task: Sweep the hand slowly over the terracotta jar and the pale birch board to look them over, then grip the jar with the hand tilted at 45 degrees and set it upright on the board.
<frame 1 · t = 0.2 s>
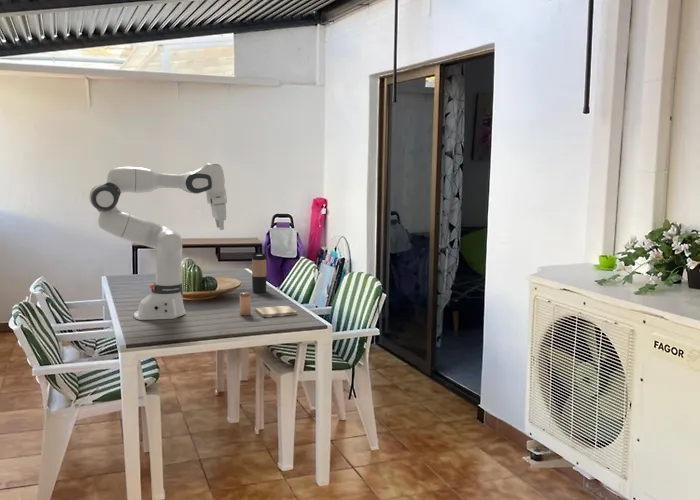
hand: (220, 228, 300), 38 cm above the table, tool pointing down, fingers open, 8 cm apart
birch board: (276, 313, 302), on the table
travel mug: (259, 291, 349), on the table
terracotta jar: (245, 314, 298), on the table
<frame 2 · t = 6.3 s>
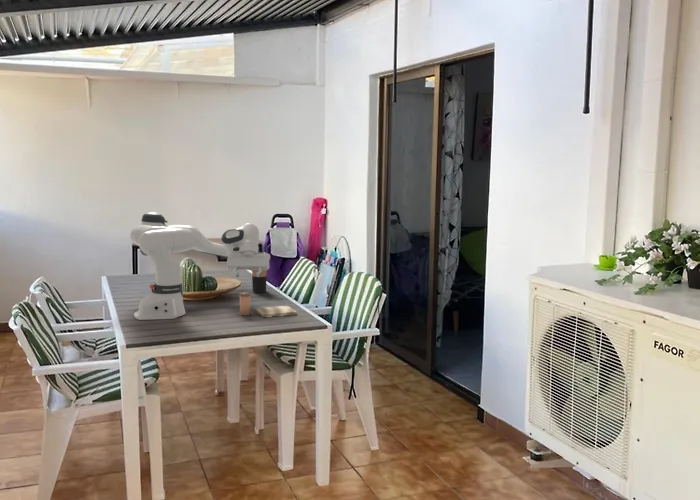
hand: (247, 276, 308), 16 cm above the table, tool tilted 45°, fingers open, 8 cm apart
nothing on the table moved.
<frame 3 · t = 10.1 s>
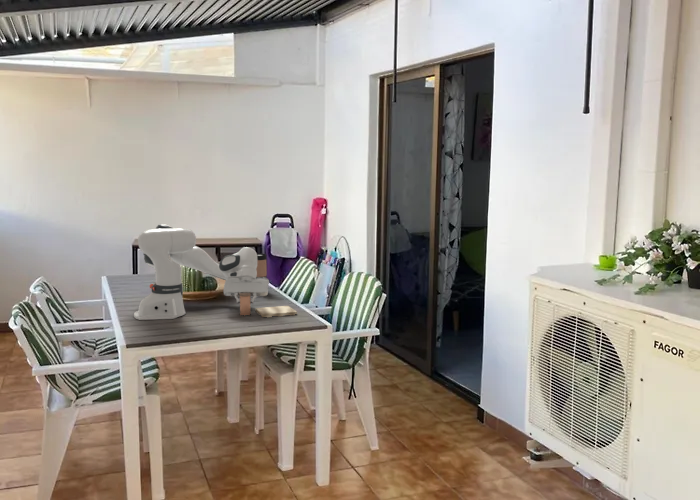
hand: (245, 302, 297), 6 cm above the table, tool tilted 45°, fingers closed on terracotta jar, 5 cm apart
terracotta jar: (245, 314, 298), on the table, touching gripper
everything else where it was.
when the fingers open (9 cm above the table, at t = 15.5 s): terracotta jar drops 1 cm, resting on birch board.
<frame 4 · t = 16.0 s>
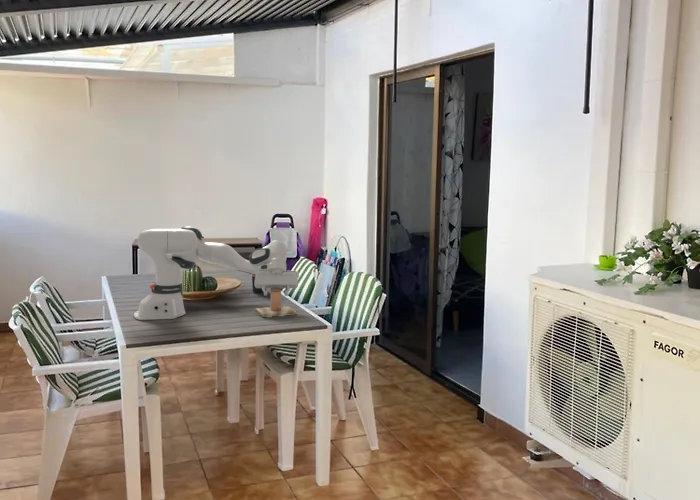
hand: (275, 295, 300), 9 cm above the table, tool tilted 45°, fingers open, 8 cm apart
terracotta jar: (275, 309, 302), point 2 cm above the table, touching birch board
everything else where it was.
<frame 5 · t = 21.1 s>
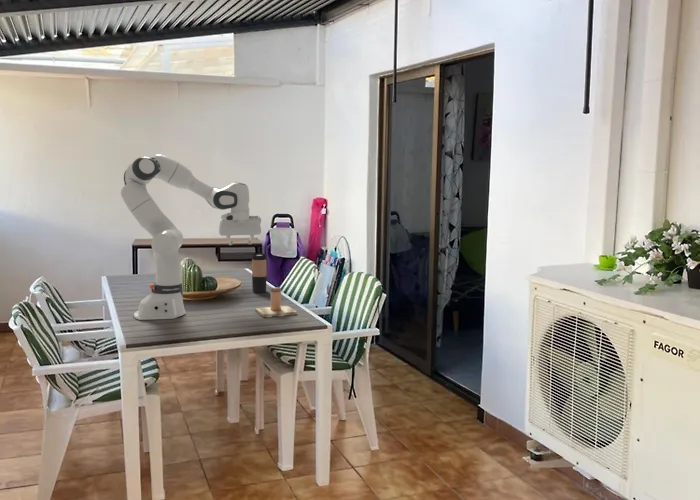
hand: (240, 244, 317), 29 cm above the table, tool pointing down, fingers open, 8 cm apart
nothing on the table moved.
at the end: terracotta jar inside the target area on the birch board (0.1 cm from its centre), point 1.5 cm above the birch board's base; terracotta jar tilted 1°; the gripper is holding nothing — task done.
